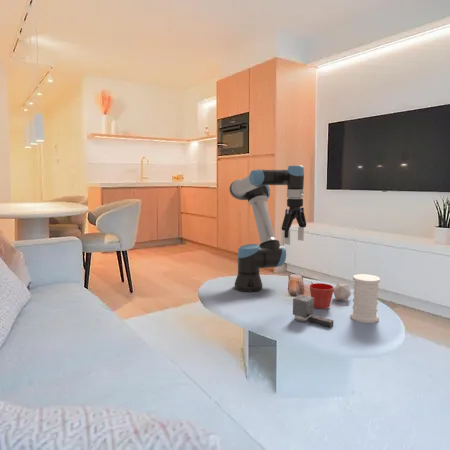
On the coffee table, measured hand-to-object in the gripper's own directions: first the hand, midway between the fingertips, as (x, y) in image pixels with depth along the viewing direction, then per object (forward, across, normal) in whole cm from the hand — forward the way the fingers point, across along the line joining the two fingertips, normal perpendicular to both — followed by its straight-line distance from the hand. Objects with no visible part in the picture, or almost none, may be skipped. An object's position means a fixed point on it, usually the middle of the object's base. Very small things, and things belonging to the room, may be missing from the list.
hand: (294, 242), depth 187 cm
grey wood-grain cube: (+26, -20, -16) cm, 37 cm away
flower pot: (+29, 0, -15) cm, 33 cm away
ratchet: (+29, -20, -21) cm, 41 cm away
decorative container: (+29, -2, -36) cm, 46 cm away
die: (+29, +15, -19) cm, 38 cm away
